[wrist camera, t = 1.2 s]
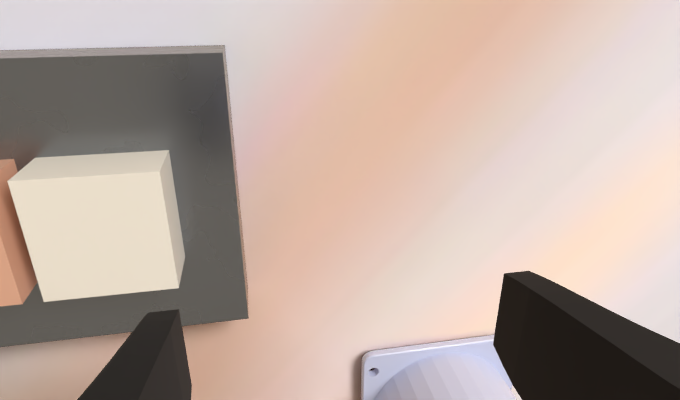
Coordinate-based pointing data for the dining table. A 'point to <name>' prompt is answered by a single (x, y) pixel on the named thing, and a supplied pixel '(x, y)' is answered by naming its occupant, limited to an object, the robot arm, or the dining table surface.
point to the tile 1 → (12, 246)
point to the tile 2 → (100, 223)
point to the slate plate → (133, 136)
